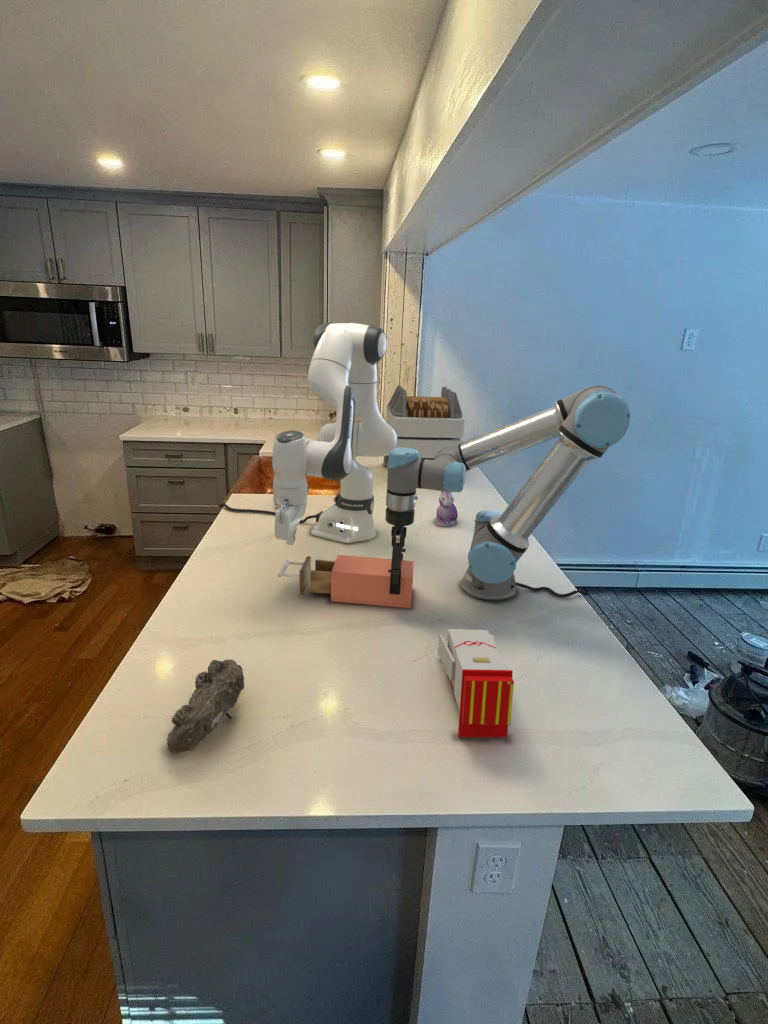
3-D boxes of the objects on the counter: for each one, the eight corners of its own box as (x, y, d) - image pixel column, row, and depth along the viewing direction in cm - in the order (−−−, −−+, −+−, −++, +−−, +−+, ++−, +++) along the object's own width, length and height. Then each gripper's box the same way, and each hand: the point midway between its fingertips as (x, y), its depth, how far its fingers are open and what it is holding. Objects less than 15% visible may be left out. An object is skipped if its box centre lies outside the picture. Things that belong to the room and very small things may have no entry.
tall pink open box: (330, 601, 152) (331, 571, 149) (336, 583, 162) (337, 554, 159) (410, 608, 151) (412, 578, 148) (411, 589, 161) (414, 561, 158)
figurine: (442, 528, 206) (446, 489, 201) (428, 519, 214) (431, 481, 209) (464, 525, 210) (468, 486, 205) (449, 516, 218) (452, 479, 213)
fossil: (192, 660, 117) (244, 628, 112) (224, 691, 120) (276, 661, 115) (142, 746, 98) (202, 712, 93) (182, 779, 101) (242, 748, 96)
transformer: (382, 463, 289) (386, 382, 275) (445, 464, 293) (451, 384, 279) (390, 482, 257) (394, 392, 243) (460, 483, 261) (468, 394, 247)
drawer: (277, 592, 153) (277, 569, 150) (285, 576, 162) (285, 554, 159) (373, 600, 151) (375, 577, 149) (376, 584, 160) (378, 562, 158)
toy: (488, 613, 130) (523, 677, 101) (484, 667, 133) (517, 744, 104) (435, 612, 130) (455, 676, 101) (432, 666, 133) (451, 743, 103)
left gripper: (293, 508, 138) (293, 559, 143) (309, 483, 157) (309, 530, 162) (267, 506, 138) (269, 557, 143) (287, 482, 158) (288, 528, 162)
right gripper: (413, 524, 136) (408, 605, 143) (415, 494, 158) (411, 566, 165) (382, 522, 136) (378, 603, 144) (389, 493, 158) (385, 564, 166)
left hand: (290, 542), depth 153 cm, fingers closed
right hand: (395, 583), depth 154 cm, fingers closed on tall pink open box, 11 cm apart
